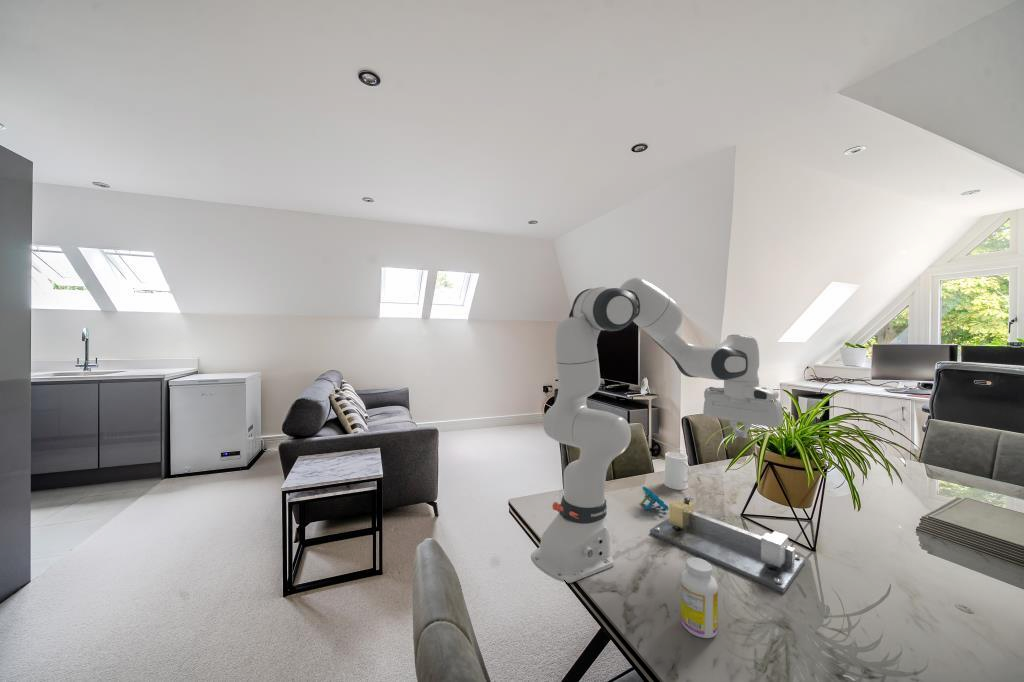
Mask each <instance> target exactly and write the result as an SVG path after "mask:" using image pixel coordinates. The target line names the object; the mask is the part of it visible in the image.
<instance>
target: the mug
mask: <svg viewBox="0 0 1024 682" xmlns="http://www.w3.org/2000/svg"><path fill="white" fill-rule="evenodd" d="M688 460H689V459H688V455H687V454H685V453H682V452H677V451H672V452H671V451H668V452H665V456H664V482H663V483H664V486H665V487H667V488H670V489H672V490H677V491H683V490H687V489H688V488H689V486H688V483H689V482H690V481H691V480H692V475H693V473H692V470H691V467H690V466H689V464H688ZM688 474H689V475H688ZM688 476H689V477H688Z"/></svg>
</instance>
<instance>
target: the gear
mask: <svg viewBox="0 0 1024 682" xmlns="http://www.w3.org/2000/svg"><path fill="white" fill-rule="evenodd" d="M642 490H643V491H644V493H643V494H645V495H643V496H644V498H643V499H642V501H640V503H641V505H644V503H645V502H646V501H649V503H648V504H647V505H646V506H645V507H644V509H645V510H646V511H649V509H650V508H651V506H652V507H653V505H655V504H656V503H657V504H658V505H659V506H660V507H662V508H663V509H664V510H666V511H669V506H668V505H667V504H666V503H665V502H664V501H663V500H662V499H660V498H659V496H658V495H657V494H655V493H654V492H653V491H652V490H650V489H649V488H648V487H647V486H644V485H643V486H642Z"/></svg>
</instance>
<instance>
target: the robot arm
mask: <svg viewBox="0 0 1024 682" xmlns="http://www.w3.org/2000/svg"><path fill="white" fill-rule="evenodd" d="M683 315H684V313H683V309H682V308H681V306H680V305H679V304H678V303H677V302H676V301H675V300H674V299H673V298H672V297H670V295H668V294H667V293H666V292H664V291H663V290H661V288H659V287H657V286H655V285H654V284H653V283H651V282H649V281H647V280H645V279H643V278H642V277H633V278H630V279H628V280H626V281H624V282H623V283H622V285H620V287H619V288H618V287H612V288H611V287H601V286H600V287H594V288H587V289H585V290H583V291H581V292H580V293H578V294H577V295H576V296H575V298H574V301H572V306H571V309H570V313H569V315H568V317H567V318H565V319H564V320H562V321H561V322H559V323H558V324H557V326H556V329H555V330H556V331H555V341H554V342H555V343H554V344H555V361H556V362H555V363H556V369H557V370H556V372H557V382H558V383H557V385H558V387H557V389H558V391H557V396H556V399H555V401H554V403H553V404H552V405H551V406H550V407H549V408H548V409H547V411H546V412H545V414H544V416H543V422H542V423H543V424H542V426H543V430H544V432H545V434H546V435H547V436H548V438H551V439H552V440H554V441H556V442H558V443H560V444H564V445H567V446H571V447H574V448H577V449H579V458H578V459H576V460H574V461H571V462H570V463H568V465H566V467H565V468H564V470H563V471H564V472H563V495H562V497H561V501H560V503H559V502H557V501H554V502H553V503H552V505H551V508H552V510H553V511H556V512H557V513H558V514H557V515H556V516H555V518H554V519H553V520H552V522H551V523H549V525H548V526H547V528H546V529H545V530H544V532H543V533H542V535H541V538H540V545H539V547H538V548H536V549H534V551H532V552H531V553H530V560H531V562H532V563H533V564H534V566H535V567H536V568H537V569H538V570H540V571H541V572H543V573H544V574H546V575H547V576H549V577H551V578H552V579H554V580H557V581H559V582H563V583H566V582H567V584H571V583H574V582H577V581H579V580H581V579H584V578H586V577H589V576H592V575H594V574H596V573H599V572H601V571H605V570H607V569H610V568H612V567H614V565H615V560H614V557H612V551H611V541H610V532H609V528H608V527H609V526H608V523H607V520H606V516H607V510H608V505H607V500H606V480H607V479H606V478H607V472H608V469H609V467H610V465H611V463H612V462H613V460H614V459H616V458H617V457H618V456H620V455H622V454H623V453H624V452H625V451H626V450H627V449H628V447H629V446H630V444H631V439H632V430H631V427H630V424H629V422H628V421H627V419H625V418H624V417H623V416H620V415H619V414H615V413H612V412H610V411H605V410H599V409H594V408H590V407H588V406H587V399H588V397H590V396H592V395H593V394H595V393H596V392H597V391H598V390H599V389H600V387H601V384H602V382H601V372H600V362H599V361H600V360H599V353H598V346H597V344H598V338H599V335H600V333H601V331H607V332H615V331H616V332H617V331H621V330H623V329H625V328H627V327H628V326H629V325H630V324H631V323H633V322H634V324H635V325H636V326H638V327H639V328H641V329H642V330H643V331H644V332H646V333H647V334H648V336H649V338H651V340H653V342H655V344H656V345H658V346H659V347H660V348H661V349H662V350H663V351H664V352H665V353H666V354H667V355H668V356H669V357H670V358H671V359H672V360H673V362H674V363H675V365H676V367H677V369H678V370H679V372H680V373H681V374H682V375H684V376H685V377H688V378H701V379H709V380H716V381H723V387H713V386H709V387H708V388H705V390H704V391H703V393H704V395H703V397H704V403H703V409H702V410H703V412H702V413H703V415H705V417H708V418H713V419H719V420H726V421H729V425H730V427H731V428H732V430H733V436H734V437H739V438H743V439H746V438H747V437H748V432H749V430H750V429H751V428H752V426H753V425H757V426H764V427H769V428H770V427H771V428H776V429H777V428H779V427H781V426H782V425H783V424H784V412H783V408H782V407H783V406H782V403H781V402H780V401H779V400H778V398H779V395H780V394H779V391H777V390H775V389H773V388H769V387H766V386H763V385H761V384H760V378H759V375H758V373H759V372H758V371H759V368H760V351H759V350H760V349H759V345H758V344H759V343H758V341H757V339H756V338H755V337H752V336H749V335H745V334H729V335H727V336H726V339H725V340H723V341H722V342H721V343H718V344H715V345H714V346H713V345H712V346H711V345H710V346H709V345H696V344H692V343H691V344H690V343H688V342H687V341H686V340H685V339H683V337H682V336H681V335H680V334H678V332H677V331H678V330H679V328H680V327H681V325H682V322H683V320H684V319H683V318H684V317H683ZM772 399H773V400H774V401H773V400H772ZM758 406H759V407H758ZM738 422H739V423H743V427H744V429H739V428H738V425H737V424H739V423H738ZM564 580H565V581H566V582H565V581H564Z"/></svg>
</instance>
